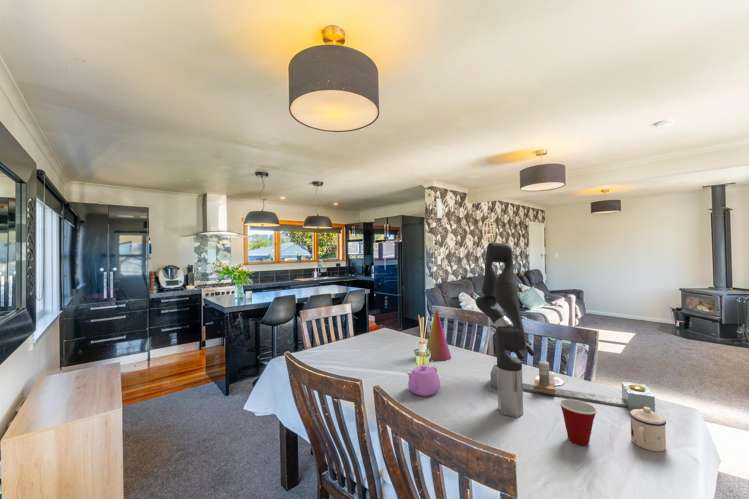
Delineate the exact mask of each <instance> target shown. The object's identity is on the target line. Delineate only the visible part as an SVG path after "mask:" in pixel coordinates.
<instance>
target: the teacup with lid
mask: <svg viewBox="0 0 749 499" xmlns="http://www.w3.org/2000/svg"><path fill="white" fill-rule="evenodd" d="M629 416H630V439H631V441H632V442H633V443H634V445H636V446H638V447H640V448H642V449H644V450H646V451H651V452H664V451H666V450H667V448H666V447H667V446H666V443H667V442H666V441H667V438H666V424H667V421H666V418H664V416H662V415H660V414H658V413H656V412H655V413H654V412H653V411H651V409H650V408H649V407H643V409H634V410H632V411H629Z"/></svg>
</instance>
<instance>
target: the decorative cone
mask: <svg viewBox="0 0 749 499" xmlns="http://www.w3.org/2000/svg"><path fill="white" fill-rule="evenodd" d="M426 347H427V349H429V350H430V351H431V357H430V360H433V361H432V362H439V361H440V362H447V360H448V361H450V360H452V355H451V351H450V349H449V344H448V342H447V338H446V336H445V331H444V328H443V325H442V321H441V318H440V314H439V311H438V308H437V306H436V307H435V311H434V315H433V319H432V323H431V327H430V331H429V335H428V340H427V344H426ZM430 360H429V361H430Z"/></svg>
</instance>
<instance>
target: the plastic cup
mask: <svg viewBox="0 0 749 499" xmlns="http://www.w3.org/2000/svg"><path fill="white" fill-rule="evenodd" d="M558 402H559V405H560V407H561V411H562V416H563V421H564V425H565V430H566V435H567V438H568V441H569V442H570V443H572V444H574V445H577V446H580V447H586V446H588V445H589V443H590V439H591V435H592V431H593V430H592V429H593V425H594V420H595V416H596V414H597V413H598V408H597V407H595V406H593V404H590V403H587V402H585V401H583V400H578V399H571V398H565V399H564V398H562V399H560V400H559V401H558Z"/></svg>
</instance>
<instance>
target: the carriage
mask: <svg viewBox="0 0 749 499" xmlns="http://www.w3.org/2000/svg"><path fill="white" fill-rule="evenodd" d="M538 371H539V373H538V374H539V375H538V376H539V380H538V379H535V378H534V384H533V385H534V391H538V392H544V393H550V394H555V388H556V385H555V384H556V382H552V381H549V371H550V362H548V361H546V360H539V361H538Z"/></svg>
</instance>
